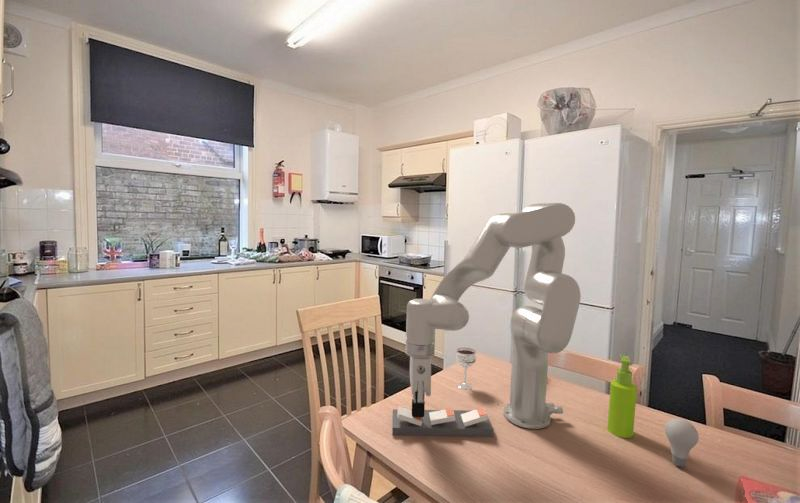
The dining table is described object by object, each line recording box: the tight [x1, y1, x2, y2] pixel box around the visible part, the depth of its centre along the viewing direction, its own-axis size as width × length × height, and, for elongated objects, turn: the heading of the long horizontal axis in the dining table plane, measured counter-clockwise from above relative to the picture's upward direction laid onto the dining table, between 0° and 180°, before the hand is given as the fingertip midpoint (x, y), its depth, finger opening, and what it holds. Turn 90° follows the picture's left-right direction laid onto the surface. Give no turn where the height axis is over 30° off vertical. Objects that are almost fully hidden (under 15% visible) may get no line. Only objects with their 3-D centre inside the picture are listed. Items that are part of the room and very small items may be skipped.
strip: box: [391, 408, 494, 437], centre depth 98 cm, size 26×9×3 cm, turn 91°
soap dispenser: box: [607, 354, 638, 439], centre depth 97 cm, size 6×7×20 cm
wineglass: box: [455, 347, 477, 390], centre depth 122 cm, size 7×7×12 cm
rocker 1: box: [397, 405, 422, 426], centre depth 96 cm, size 6×4×1 cm, turn 91°
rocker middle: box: [429, 407, 455, 425], centre depth 96 cm, size 6×4×1 cm, turn 90°
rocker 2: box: [461, 406, 489, 427], centre depth 97 cm, size 6×4×1 cm, turn 90°
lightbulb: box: [664, 417, 700, 468], centre depth 84 cm, size 6×6×11 cm
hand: (417, 415), depth 96 cm, fingers closed
